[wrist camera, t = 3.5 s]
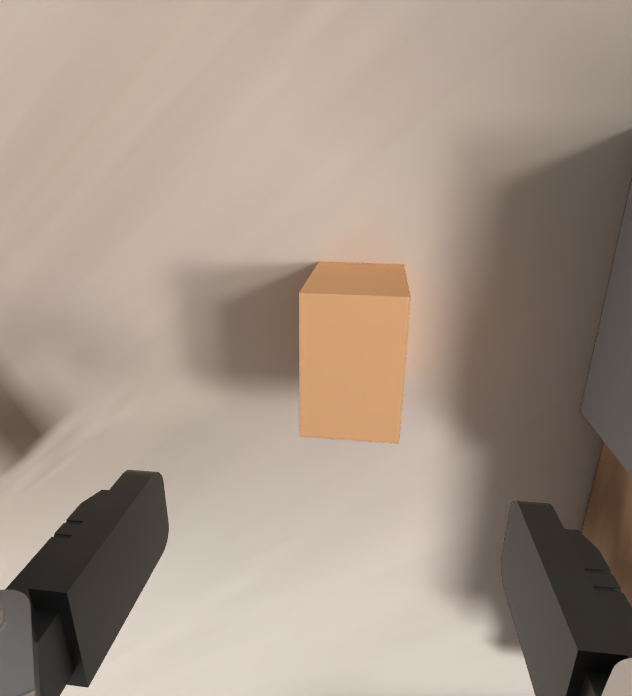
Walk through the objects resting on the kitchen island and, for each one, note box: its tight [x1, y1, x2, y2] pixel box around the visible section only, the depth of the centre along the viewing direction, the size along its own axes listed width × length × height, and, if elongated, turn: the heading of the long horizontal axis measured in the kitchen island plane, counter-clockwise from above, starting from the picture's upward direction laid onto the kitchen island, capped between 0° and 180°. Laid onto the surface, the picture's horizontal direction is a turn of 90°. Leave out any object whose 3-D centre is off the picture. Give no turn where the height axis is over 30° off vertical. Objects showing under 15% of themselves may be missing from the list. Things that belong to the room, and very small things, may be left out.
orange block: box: [299, 262, 410, 444], centre depth 22 cm, size 6×4×6 cm, turn 179°
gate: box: [581, 442, 632, 607], centre depth 23 cm, size 14×1×6 cm, turn 179°
